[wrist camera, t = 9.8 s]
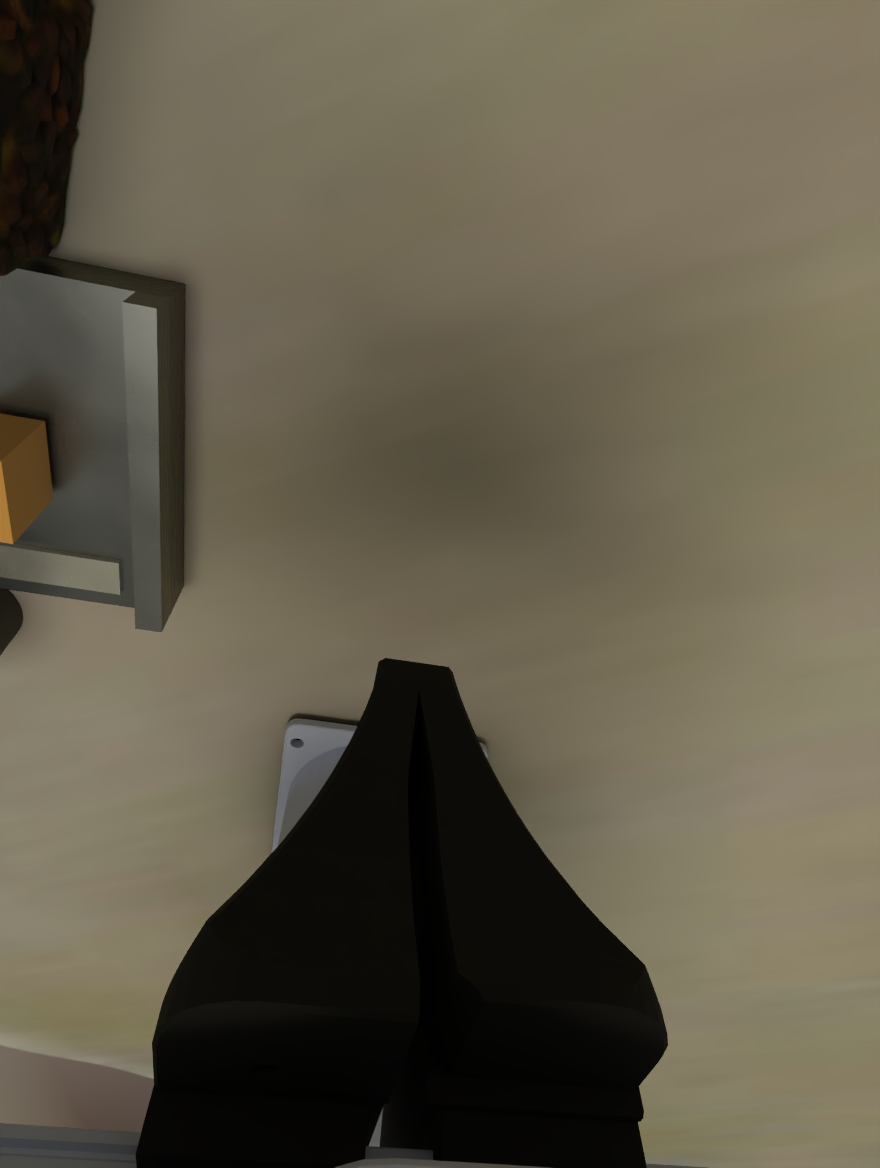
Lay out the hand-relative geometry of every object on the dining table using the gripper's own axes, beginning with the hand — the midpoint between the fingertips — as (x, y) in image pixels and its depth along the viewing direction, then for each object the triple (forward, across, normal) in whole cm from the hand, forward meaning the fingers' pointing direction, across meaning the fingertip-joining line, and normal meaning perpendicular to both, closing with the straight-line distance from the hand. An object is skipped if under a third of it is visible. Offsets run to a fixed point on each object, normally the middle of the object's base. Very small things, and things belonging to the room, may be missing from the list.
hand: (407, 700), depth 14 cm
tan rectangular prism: (+9, +11, +1) cm, 14 cm away
